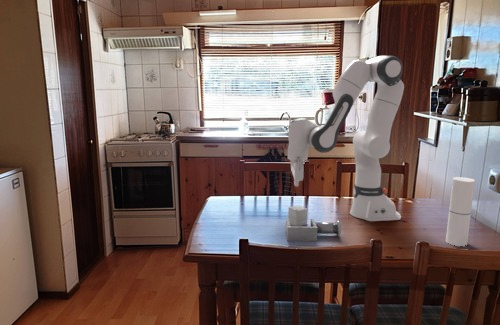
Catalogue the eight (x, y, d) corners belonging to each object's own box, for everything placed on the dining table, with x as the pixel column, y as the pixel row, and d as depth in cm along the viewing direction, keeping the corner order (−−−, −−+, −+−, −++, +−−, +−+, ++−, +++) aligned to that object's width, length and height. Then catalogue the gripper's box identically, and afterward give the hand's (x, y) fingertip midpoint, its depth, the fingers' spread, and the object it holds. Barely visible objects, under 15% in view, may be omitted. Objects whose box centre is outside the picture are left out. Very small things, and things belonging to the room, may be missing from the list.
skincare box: (298, 220, 164) (299, 204, 162) (307, 224, 159) (307, 208, 157) (287, 222, 161) (288, 206, 159) (296, 227, 156) (296, 210, 154)
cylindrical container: (447, 244, 138) (454, 180, 133) (444, 237, 145) (451, 176, 140) (468, 247, 136) (476, 182, 131) (465, 240, 142) (472, 178, 137)
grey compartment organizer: (336, 231, 151) (337, 216, 150) (341, 241, 141) (342, 225, 140) (285, 230, 152) (285, 216, 150) (287, 240, 142) (287, 225, 140)
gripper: (307, 159, 151) (306, 192, 153) (302, 151, 171) (301, 180, 173) (292, 159, 151) (291, 191, 153) (288, 151, 171) (287, 180, 174)
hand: (296, 185), depth 164 cm, fingers closed
